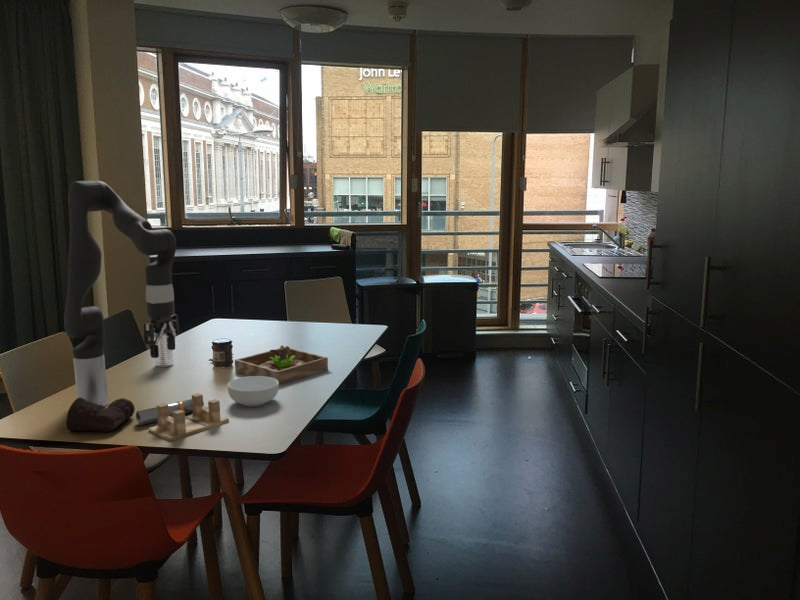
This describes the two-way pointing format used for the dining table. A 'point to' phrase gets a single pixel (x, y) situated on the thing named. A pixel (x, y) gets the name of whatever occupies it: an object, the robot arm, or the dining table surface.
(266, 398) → the cereal bowl
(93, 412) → the dark brown boot
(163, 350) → the water bottle
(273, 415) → the dining table surface
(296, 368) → the planter box
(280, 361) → the plant
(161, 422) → the cradle board
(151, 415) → the tube
